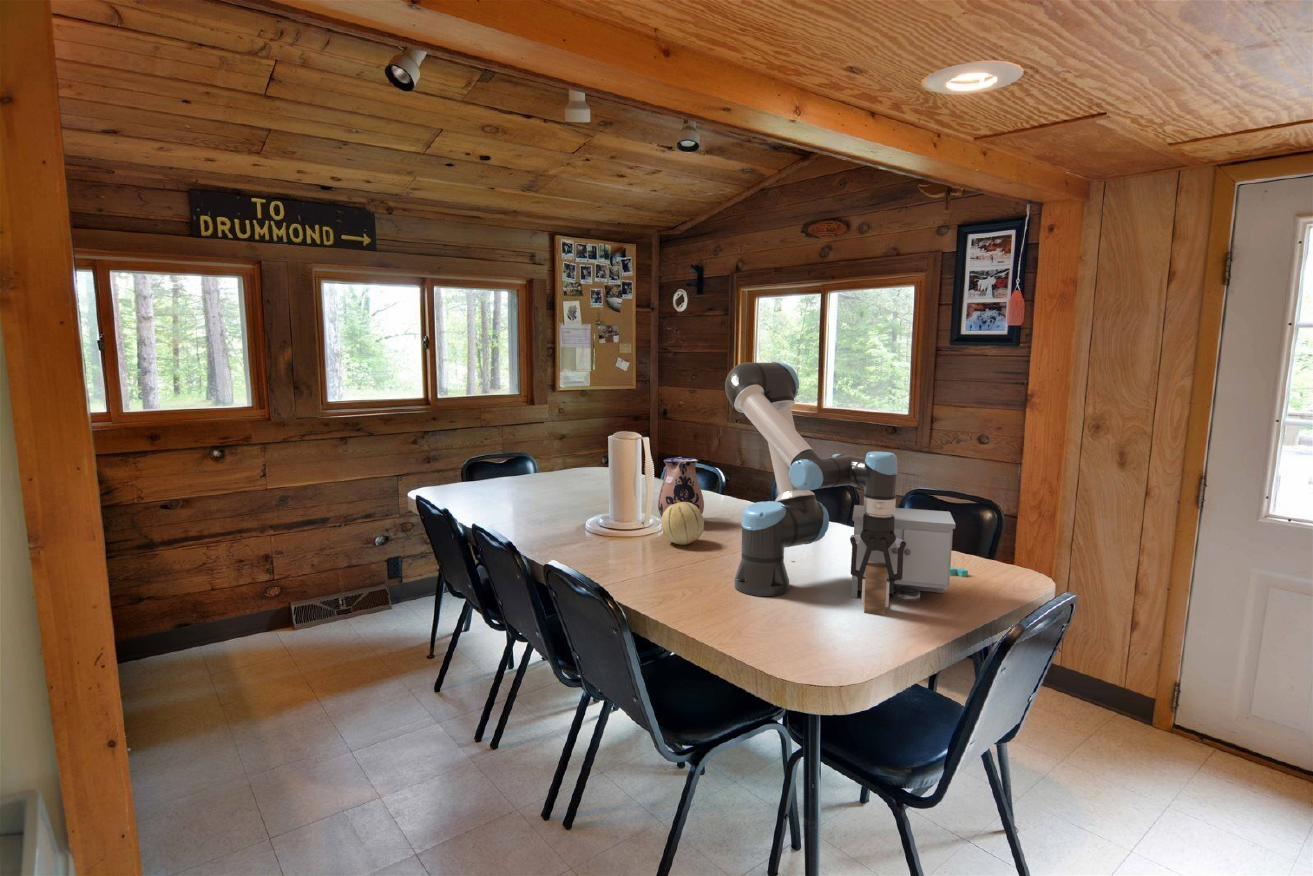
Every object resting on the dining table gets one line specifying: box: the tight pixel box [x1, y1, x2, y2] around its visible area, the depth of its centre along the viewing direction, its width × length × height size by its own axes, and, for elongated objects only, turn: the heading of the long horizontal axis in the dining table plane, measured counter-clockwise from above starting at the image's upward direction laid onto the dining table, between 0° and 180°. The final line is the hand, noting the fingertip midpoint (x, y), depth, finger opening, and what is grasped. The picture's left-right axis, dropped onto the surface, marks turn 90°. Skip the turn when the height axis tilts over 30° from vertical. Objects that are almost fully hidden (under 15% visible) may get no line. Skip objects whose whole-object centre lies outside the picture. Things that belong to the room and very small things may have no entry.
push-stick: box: [863, 561, 887, 616], centre depth 180 cm, size 5×20×12 cm, turn 162°
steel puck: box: [891, 587, 921, 603], centre depth 183 cm, size 7×7×2 cm
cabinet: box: [850, 504, 956, 599], centre depth 184 cm, size 25×16×22 cm, turn 72°
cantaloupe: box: [660, 500, 705, 546], centre depth 234 cm, size 15×15×15 cm
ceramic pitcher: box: [657, 456, 705, 518], centre depth 262 cm, size 18×21×25 cm
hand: (874, 603), depth 173 cm, fingers closed on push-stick, 5 cm apart
